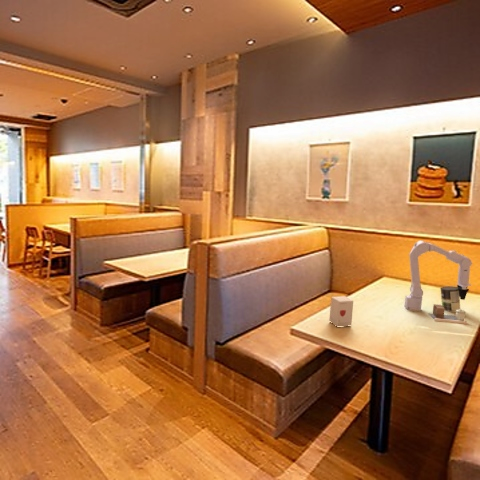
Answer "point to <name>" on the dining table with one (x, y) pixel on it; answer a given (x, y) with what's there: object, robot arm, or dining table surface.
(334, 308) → the supplement box
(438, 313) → the tea box
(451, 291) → the coffee can
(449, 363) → the dining table surface
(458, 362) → the dining table surface
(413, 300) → the robot arm
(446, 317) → the shelf board
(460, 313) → the celadon jar
